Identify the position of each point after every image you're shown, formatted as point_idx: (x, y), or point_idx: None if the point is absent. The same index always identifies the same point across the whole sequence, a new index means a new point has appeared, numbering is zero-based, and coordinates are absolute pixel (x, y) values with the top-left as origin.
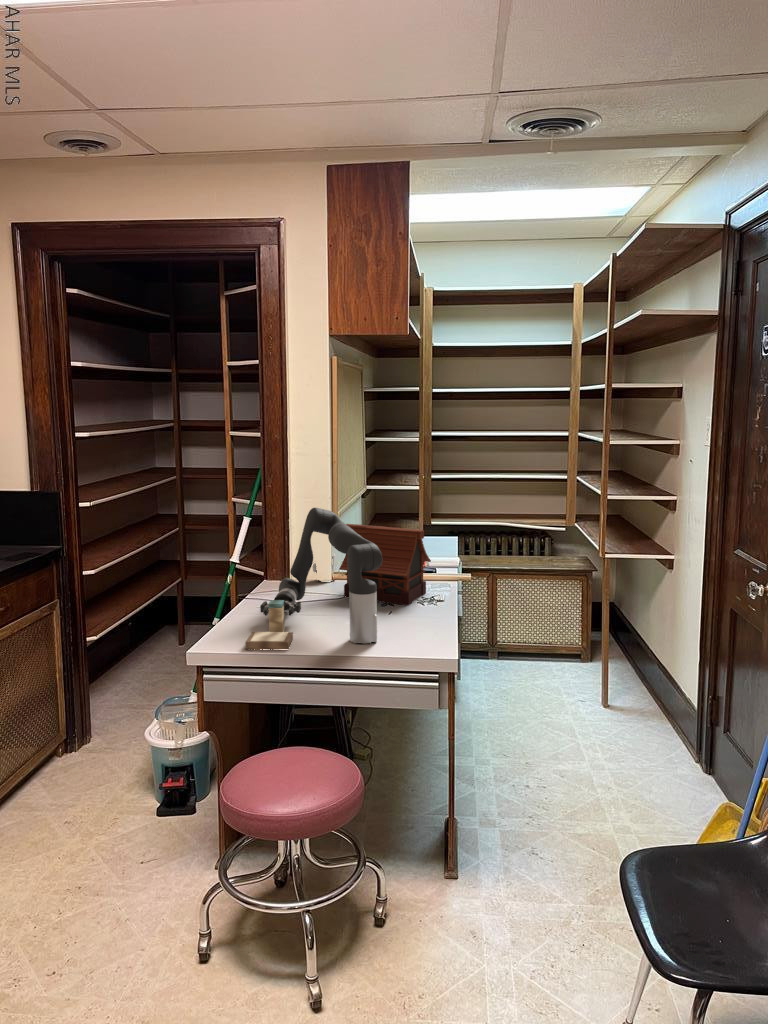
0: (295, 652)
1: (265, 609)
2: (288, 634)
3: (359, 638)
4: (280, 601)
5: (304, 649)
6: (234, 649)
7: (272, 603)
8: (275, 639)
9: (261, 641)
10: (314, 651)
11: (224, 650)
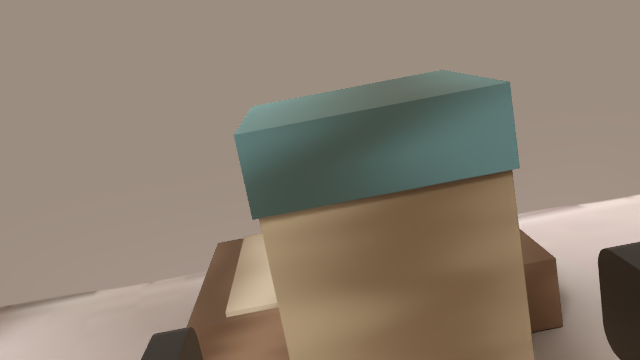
0: (187, 288)
1: (632, 246)
2: (222, 298)
3: None
4: (291, 113)
5: (131, 318)
6: (557, 232)
7: (388, 81)
8: None
9: None
10: (77, 316)
11: (604, 216)
